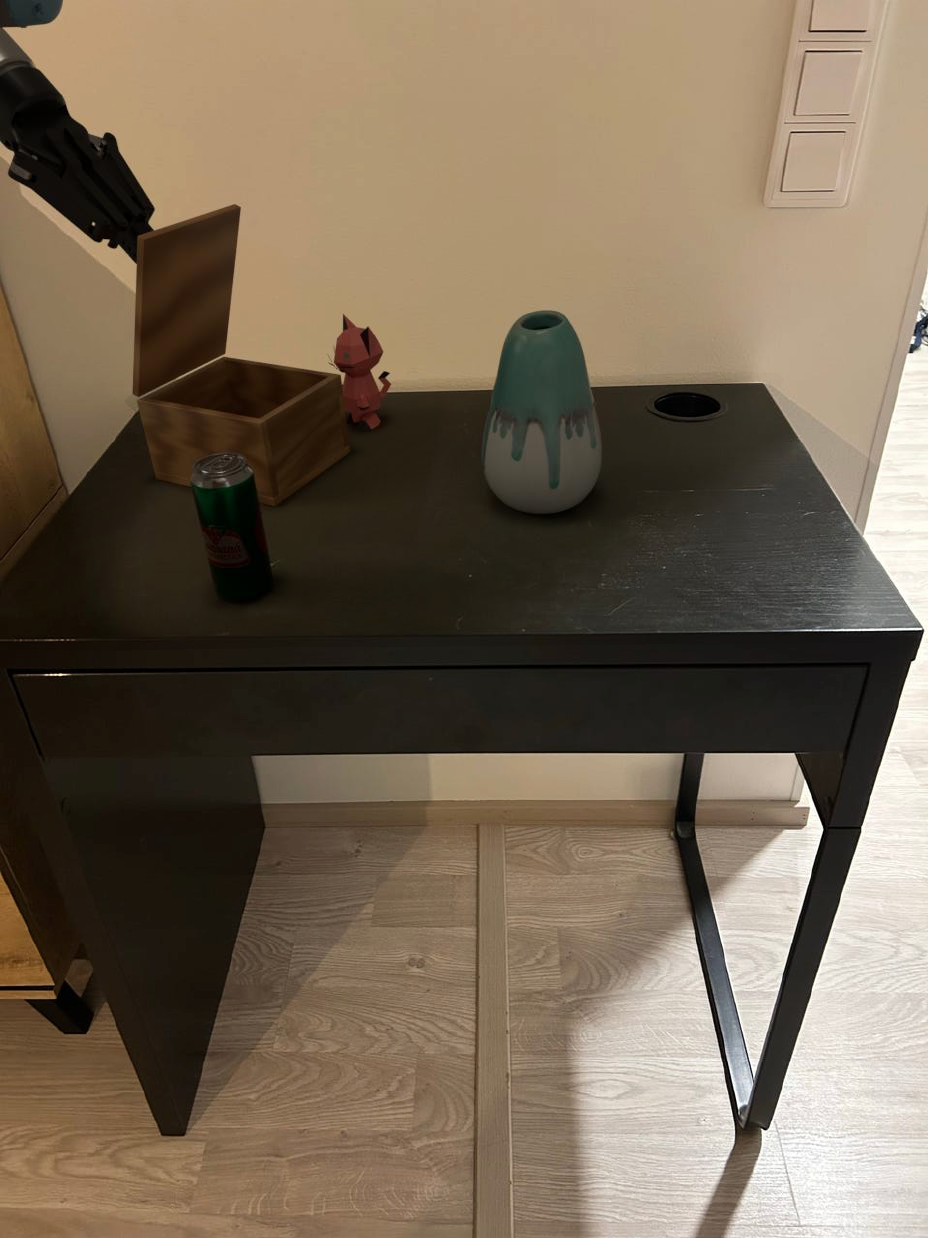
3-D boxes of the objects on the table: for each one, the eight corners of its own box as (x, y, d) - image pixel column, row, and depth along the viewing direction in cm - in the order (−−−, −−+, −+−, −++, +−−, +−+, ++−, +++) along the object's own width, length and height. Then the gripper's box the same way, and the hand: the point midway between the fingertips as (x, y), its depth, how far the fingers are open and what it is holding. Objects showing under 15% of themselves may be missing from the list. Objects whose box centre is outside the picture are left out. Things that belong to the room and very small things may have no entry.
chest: (350, 452, 106) (341, 374, 101) (275, 506, 96) (260, 423, 91) (237, 430, 112) (223, 356, 107) (156, 479, 102) (136, 400, 97)
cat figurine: (326, 419, 113) (313, 318, 107) (377, 405, 116) (367, 305, 110) (354, 438, 109) (342, 334, 102) (406, 423, 111) (397, 320, 105)
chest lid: (241, 206, 95) (234, 203, 95) (144, 239, 85) (137, 235, 86) (225, 353, 107) (219, 350, 107) (138, 397, 97) (132, 394, 97)
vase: (512, 537, 88) (509, 347, 78) (465, 486, 97) (457, 310, 87) (622, 511, 92) (633, 325, 82) (567, 464, 101) (571, 291, 91)
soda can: (204, 599, 82) (174, 472, 75) (236, 569, 86) (211, 446, 79) (254, 609, 80) (228, 481, 74) (285, 579, 84) (263, 454, 77)
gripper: (49, 113, 100) (205, 290, 103) (-57, 133, 91) (118, 327, 93) (71, 54, 95) (235, 242, 98) (-38, 69, 85) (146, 276, 88)
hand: (177, 283), depth 96 cm, fingers closed
